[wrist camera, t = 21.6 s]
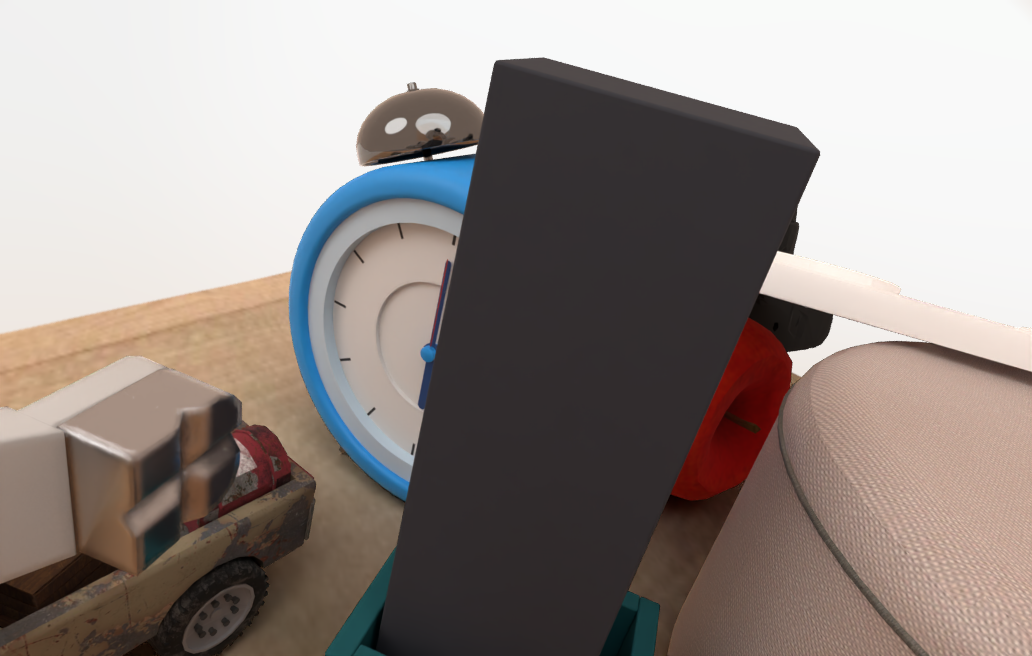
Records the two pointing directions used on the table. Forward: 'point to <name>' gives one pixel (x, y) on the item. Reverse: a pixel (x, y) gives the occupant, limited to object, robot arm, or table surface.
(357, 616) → the teal storage bin
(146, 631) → the toy vehicle
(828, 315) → the film camera
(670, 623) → the table surface
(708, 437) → the apple
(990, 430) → the container
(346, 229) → the alarm clock
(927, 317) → the light switch
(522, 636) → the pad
